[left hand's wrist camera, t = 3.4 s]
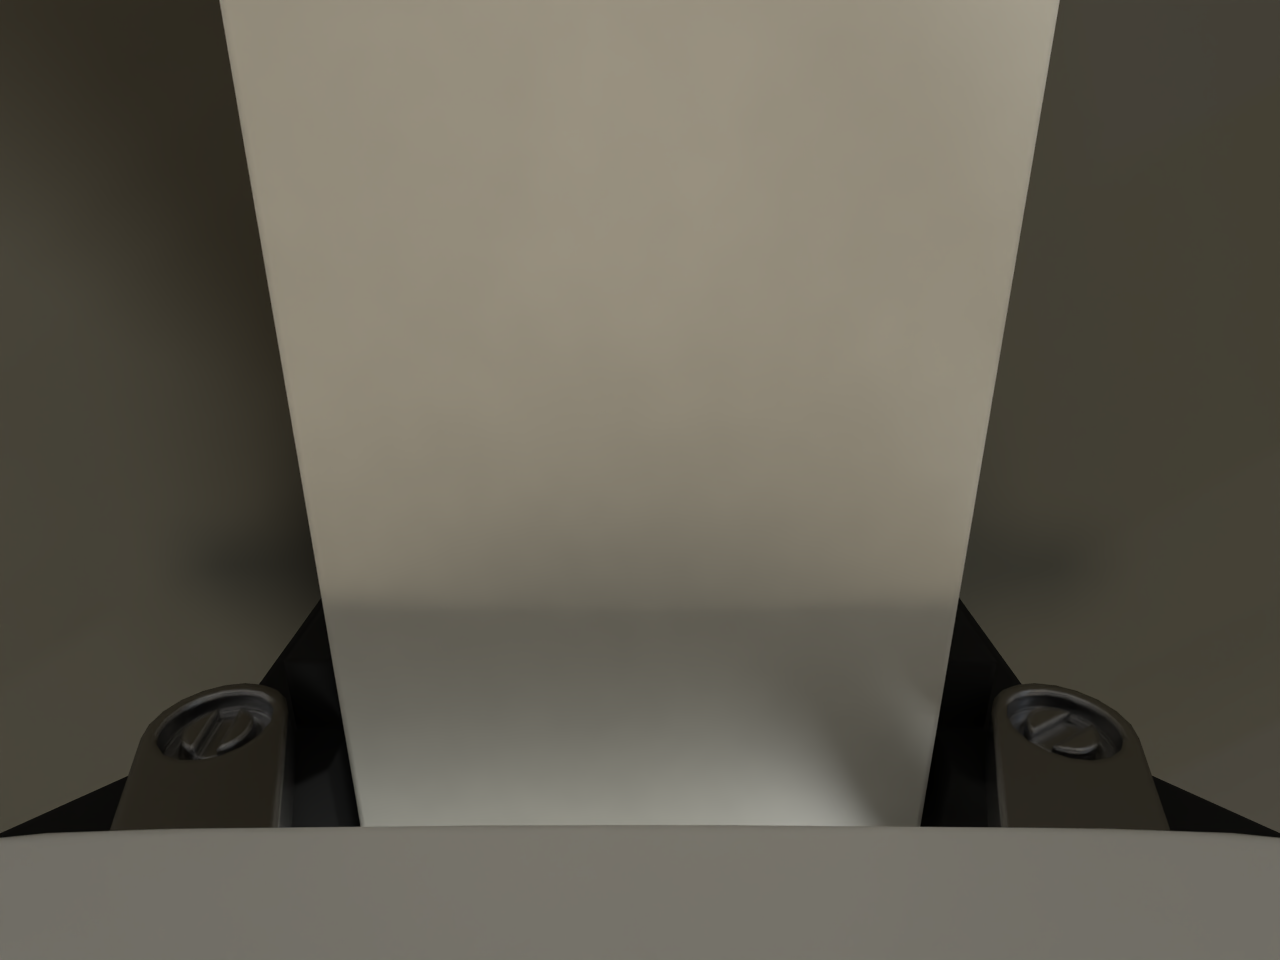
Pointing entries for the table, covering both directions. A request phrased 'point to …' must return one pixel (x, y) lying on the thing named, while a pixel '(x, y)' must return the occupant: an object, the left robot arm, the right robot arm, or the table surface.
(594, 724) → the post
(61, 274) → the table surface
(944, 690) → the left robot arm
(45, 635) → the table surface
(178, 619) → the table surface
